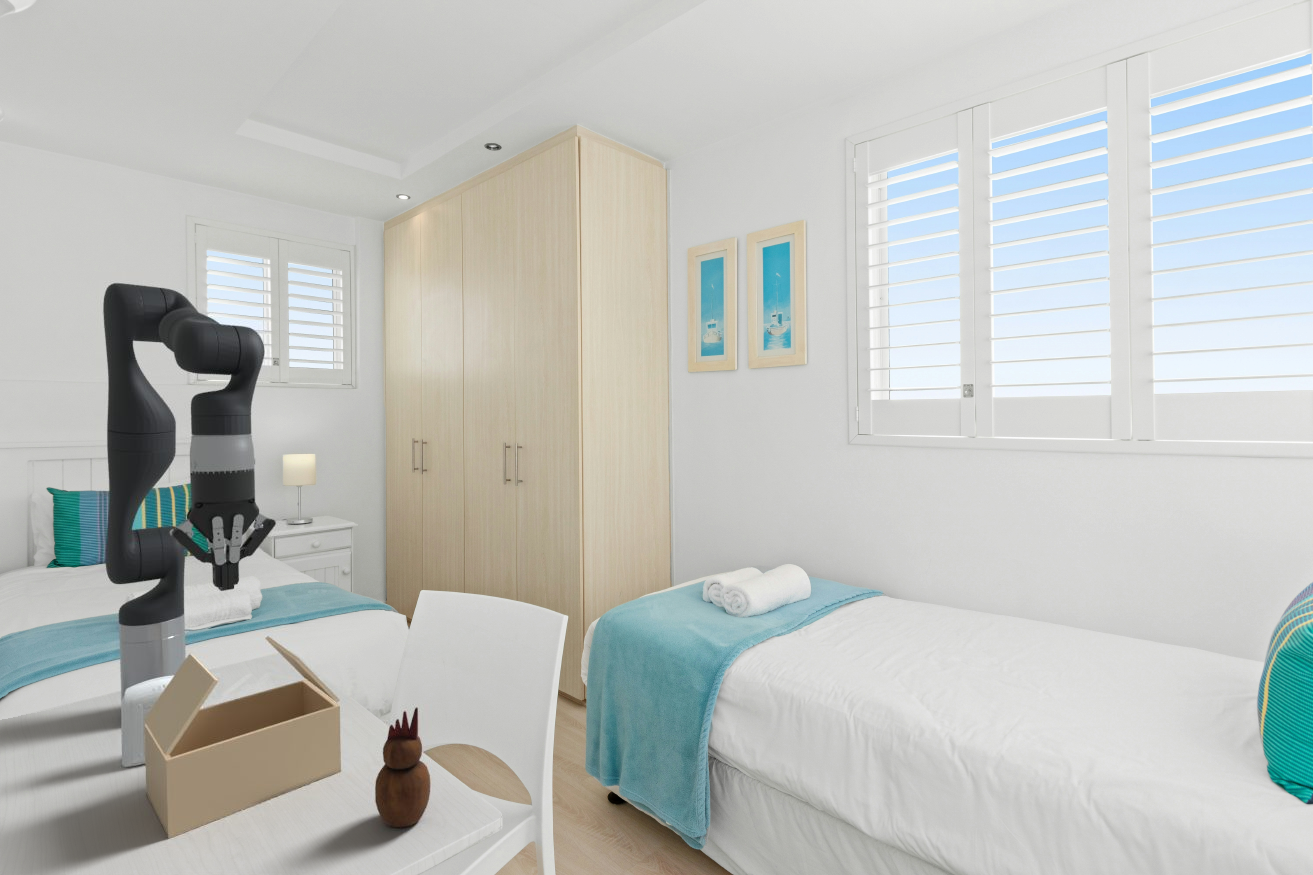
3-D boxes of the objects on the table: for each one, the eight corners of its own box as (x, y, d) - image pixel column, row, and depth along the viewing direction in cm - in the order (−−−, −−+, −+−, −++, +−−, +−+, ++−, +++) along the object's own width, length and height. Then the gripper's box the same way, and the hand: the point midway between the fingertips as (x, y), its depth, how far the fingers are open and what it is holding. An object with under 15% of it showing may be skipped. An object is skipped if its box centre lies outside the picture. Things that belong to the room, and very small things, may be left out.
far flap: (265, 638, 102) (267, 635, 102) (303, 677, 106) (306, 674, 106) (296, 660, 92) (299, 658, 93) (337, 702, 97) (340, 699, 97)
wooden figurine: (439, 811, 87) (437, 702, 87) (409, 838, 82) (408, 721, 81) (398, 801, 90) (396, 695, 89) (366, 827, 84) (365, 713, 84)
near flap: (147, 720, 91) (143, 719, 91) (192, 654, 95) (189, 653, 94) (168, 755, 82) (164, 754, 81) (218, 680, 86) (214, 679, 85)
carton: (146, 794, 91) (144, 724, 91) (306, 739, 107) (305, 679, 106) (168, 838, 82) (166, 760, 81) (341, 771, 97) (339, 705, 97)
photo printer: (204, 740, 106) (202, 666, 106) (203, 752, 103) (202, 675, 102) (124, 759, 101) (121, 680, 100) (120, 771, 97) (117, 690, 97)
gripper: (267, 463, 98) (269, 576, 99) (158, 468, 89) (162, 593, 89) (284, 465, 93) (286, 584, 94) (171, 471, 84) (174, 604, 84)
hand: (225, 588), depth 92 cm, fingers closed
